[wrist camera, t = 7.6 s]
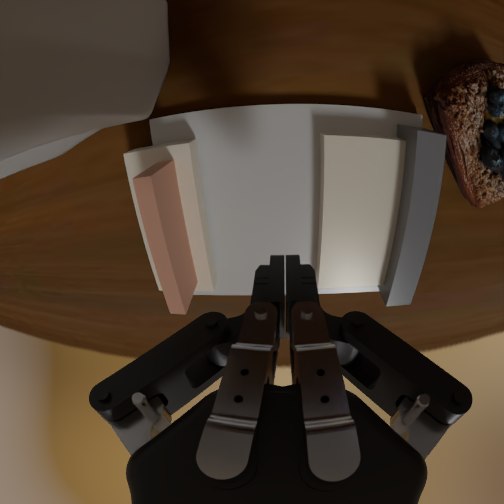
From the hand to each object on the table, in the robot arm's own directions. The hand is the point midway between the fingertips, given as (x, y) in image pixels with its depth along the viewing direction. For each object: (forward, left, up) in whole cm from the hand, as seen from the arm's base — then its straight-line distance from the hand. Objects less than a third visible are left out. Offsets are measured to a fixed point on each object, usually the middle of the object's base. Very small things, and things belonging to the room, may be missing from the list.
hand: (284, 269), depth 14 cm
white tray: (-1, 0, -8) cm, 8 cm away
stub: (+8, 0, -7) cm, 11 cm away
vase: (+11, -13, -8) cm, 19 cm away
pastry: (-18, -8, -9) cm, 21 cm away
